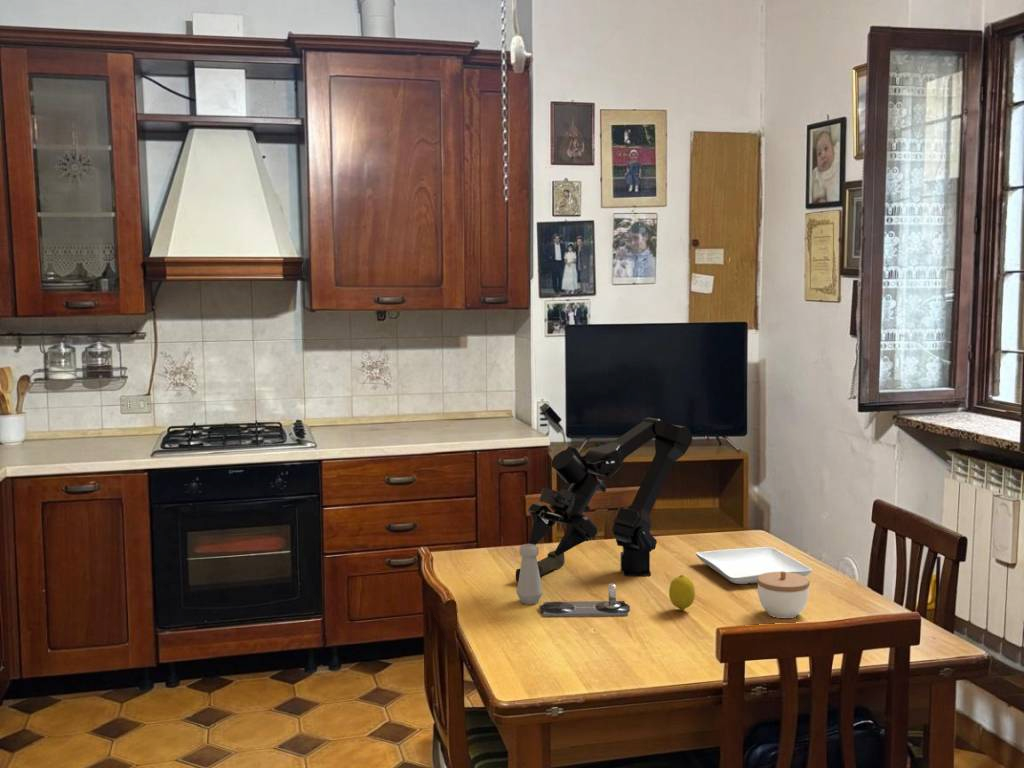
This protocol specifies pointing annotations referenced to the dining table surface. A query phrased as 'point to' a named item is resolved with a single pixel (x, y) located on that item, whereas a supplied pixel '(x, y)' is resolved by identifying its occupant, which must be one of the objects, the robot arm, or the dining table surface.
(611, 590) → the fixed steel pin
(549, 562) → the hand tool
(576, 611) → the plate
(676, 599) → the lemon
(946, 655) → the dining table surface
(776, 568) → the salad plate
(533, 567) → the salt shaker
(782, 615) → the lidded jar
